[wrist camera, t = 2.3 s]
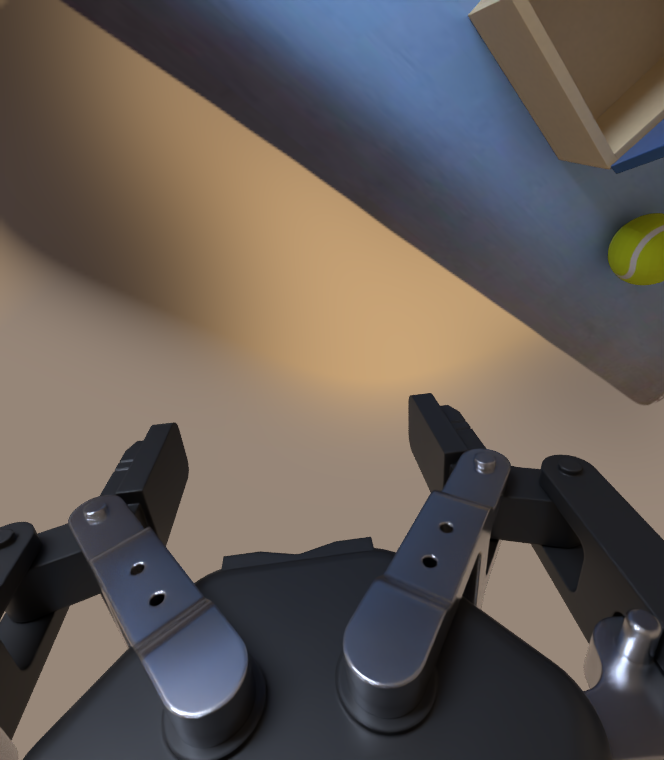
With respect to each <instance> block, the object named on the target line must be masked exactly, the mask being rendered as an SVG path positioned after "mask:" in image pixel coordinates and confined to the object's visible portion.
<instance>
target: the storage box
mask: <svg viewBox="0 0 664 760" xmlns="http://www.w3.org/2000/svg"><path fill="white" fill-rule="evenodd" d="M468 17H469V18H470V20H471V21H472V23H473V24H474V26H475V28H476V29H477V31H478V32H479V34H480V36H481V37H482V39H483V40H484V42H485V43H486V45H487V47H488V48H489V50H490V51H491V53H492V55H493V56H494V58H495V59H496V61H497V62H498V64H499V66H500V67H501V69H502V70H503V72H504V73H505V75H506V77H507V78H508V80H509V81H510V83H511V85H512V86H513V88H514V89H515V91H516V92H517V94H518V96H519V97H520V99H521V100H522V102H523V103H524V105H525V107H526V108H527V110H528V111H529V113H530V115H531V116H532V118H533V119H534V121H535V122H536V124H537V126H538V127H539V129H540V130H541V132H542V134H543V135H544V137H545V138H546V140H547V141H548V143H549V145H550V146H551V148H552V149H553V151H554V152H555V154H556V156H557V157H558V159H559V160H564V161H568V162H573V163H578V164H583V165H588V166H594V167H599V168H604V169H611V165H613V164H614V163H615V162H616V161H617V160H618V159H619V158H620V157H621V156H623V155H624V154H625V153H626V152H627V151H628V150H629V149H630V148H632V147H633V146H634V145H635V144H636V143H637V142H638V141H639V140H641V139H642V138H643V137H644V136H645V135H646V134H647V133H648V132H650V131H651V130H652V129H653V128H654V127H655V126H656V125H657V124H658V123H660V122H661V121H662V120H663V119H664V0H481V1H480V2H479V3H478V4H477V6H476V7H475V8H474V9H473V10H472V11H471V12H470V14H469V15H468Z"/></svg>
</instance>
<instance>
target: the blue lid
mask: <svg viewBox="0 0 664 760" xmlns="http://www.w3.org/2000/svg"><path fill="white" fill-rule="evenodd" d="M663 157H664V119H663V120H662V121H661V122H660V123H658V124H657V125H656V126H655V127H654V128H653V129H652V130H651V131H650V132H648V133H647V134H646V135H645V136H644V137H643V138H642V139H641V140H639V141H638V142H637V143H636V144H635V145H634V146H633V147H632V148H630V149H629V150H628V151H627V152H626V153H625V154H624V155H623V156H621V157H620V158H619V159H618V160H617V161H616V162H615V163H614V164H613V165H611V168H612V169H613V170H614V172H615V173H616V174H618V173H621V172H623V171H626V170H629V169H632V168H635V167H637V166H640V165H643V164H646V163H649V162H651V161H654V160H657V159H660V158H663Z"/></svg>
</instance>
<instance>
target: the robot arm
mask: <svg viewBox="0 0 664 760" xmlns="http://www.w3.org/2000/svg"><path fill="white" fill-rule="evenodd" d="M409 441H410V447H411V450H412V453H413V455H414V457H415V459H416V461H417V463H418V465H419V468H420V470H421V472H422V474H423V477H424V479H425V481H426V483H427V485H428V487H429V490H430V492H431V494H430V495H429V497H428V499H427V501H426V502H425V504H424V506H423V507H422V509H421V511H420V513H419V514H418V516H417V518H416V519H415V521H414V523H413V525H412V527H411V528H410V530H409V532H408V533H407V535H406V537H405V539H404V540H403V542H402V544H401V545H400V547H399V549H398V550H397V552H396V553H395V552H392V551H388V550H384V549H378V548H374V547H373V543H372V539H371V537H366V538H359V539H351V540H343V541H336V542H333V543H330V544H327V545H324V546H321V547H318V548H316V549H313V550H310V551H307V552H304V553H301V554H285V553H271V552H254V553H246V554H239V555H231V556H224V558H223V564H222V569H220V570H217V571H215V572H213V573H211V574H208V575H207V576H205V577H203V578H201V579H200V580H198V581H197V582H195V583H193V582H192V580H191V579H190V578H189V576H188V575H187V574H186V573H185V571H184V570H183V569H182V567H181V566H180V565H179V563H178V562H177V561H176V560H175V558H174V557H173V556H172V555H171V553H170V552H169V551H168V550H167V548H166V544H167V541H168V538H169V535H170V532H171V529H172V526H173V523H174V520H175V517H176V513H177V510H178V507H179V504H180V501H181V498H182V495H183V492H184V489H185V485H186V482H187V479H188V473H189V467H188V460H187V456H186V453H185V449H184V446H183V442H182V438H181V435H180V431H179V428H178V425H177V424H176V423H166V424H157V425H152V426H151V427H150V429H149V431H148V433H147V435H146V437H145V439H144V441H137V442H136V443H135V444H133V445H132V446H131V447H130V448H129V449H127V450H126V451H125V453H124V455H123V457H122V458H121V460H120V463H119V464H118V465H117V467H116V469H115V472H114V473H113V474H112V476H111V477H110V479H109V481H108V482H107V484H106V486H105V488H104V489H103V491H102V493H101V495H100V496H98V497H96V498H93V499H90V500H88V501H86V502H85V503H83V504H81V505H80V506H79V507H77V509H75V510H74V511H73V512H72V514H71V515H70V517H69V520H68V524H65V525H62V526H59V527H56V528H53V529H50V530H47V531H44V532H41V533H38V534H37V533H36V530H35V529H34V527H33V525H32V524H30V523H28V522H17V523H12V524H9V525H5V526H3V527H0V619H1V617H2V615H3V613H4V611H5V612H6V613H5V615H4V617H3V619H2V620H1V622H0V760H18V751H17V748H16V747H15V745H14V744H13V743H12V741H11V740H12V738H13V735H14V733H15V731H16V728H17V726H18V724H19V722H20V719H21V717H22V714H23V712H24V710H25V708H26V706H27V703H28V701H29V699H30V696H31V694H32V692H33V689H34V687H35V685H36V683H37V680H38V678H39V675H40V673H41V671H42V669H43V666H44V664H45V662H46V659H47V657H48V655H49V653H50V650H51V648H52V646H53V643H54V640H55V639H56V637H57V634H58V632H59V630H60V627H61V625H62V623H63V620H64V618H65V616H66V613H67V611H68V609H69V606H70V605H73V604H75V603H78V602H80V601H83V600H85V599H88V598H90V597H93V596H95V595H98V594H101V597H102V599H103V600H104V603H105V604H106V606H107V608H108V610H109V612H110V614H111V616H112V618H113V620H114V622H115V624H116V626H117V628H118V630H119V632H120V634H121V636H122V638H123V640H124V642H125V644H126V646H127V648H128V650H127V651H126V652H125V653H124V654H123V655H122V656H121V657H120V658H119V659H118V660H117V661H116V662H115V663H114V664H113V665H112V666H111V667H110V668H109V669H108V670H107V671H106V672H105V673H104V674H103V675H102V676H101V677H100V679H98V680H97V681H96V683H94V684H93V686H91V687H90V689H89V690H88V691H87V692H86V693H85V694H84V695H83V696H82V697H81V698H80V699H79V700H78V701H77V702H76V703H75V704H74V705H73V706H72V707H71V708H70V709H69V710H68V711H67V712H66V713H65V714H64V715H63V716H62V717H61V718H60V719H59V720H58V721H57V722H56V723H55V724H54V725H53V726H52V728H51V729H50V730H49V731H48V732H47V733H46V734H45V735H44V736H43V737H42V738H41V739H40V740H39V741H38V742H37V743H36V744H35V745H34V747H33V748H32V749H31V750H30V751H29V752H28V753H27V755H26V756H25V757H24V759H23V760H664V540H663V539H662V538H661V537H660V536H659V535H658V534H657V533H656V532H655V531H654V530H653V528H652V527H651V526H650V525H649V524H648V523H647V522H646V521H645V520H644V519H643V518H642V517H641V516H640V515H639V514H638V513H637V512H636V511H635V510H634V508H633V507H632V506H631V505H630V504H629V503H628V502H627V501H626V500H625V499H624V498H623V497H622V496H621V495H620V494H619V493H618V492H617V491H616V490H615V488H614V487H613V486H612V485H611V484H610V483H609V482H608V481H607V480H606V479H605V478H604V477H603V476H602V475H601V474H600V473H599V472H598V471H597V469H596V468H594V466H592V465H591V464H590V463H588V462H586V461H585V460H582V459H580V458H577V457H574V456H569V455H553V456H549V457H547V458H545V459H544V460H543V462H542V466H541V469H531V468H521V467H514V466H511V465H510V462H509V460H508V459H507V458H506V457H505V456H504V455H502V454H500V453H498V452H496V451H493V450H489V449H486V447H485V446H484V445H483V443H482V442H481V441H480V439H479V438H478V437H477V435H476V434H475V432H474V431H473V430H472V429H470V426H469V424H468V423H467V422H466V421H465V419H464V418H463V416H462V415H461V414H460V412H459V411H457V410H456V409H454V408H452V407H450V406H449V405H444V406H440V405H439V404H438V402H437V401H436V399H435V398H434V396H433V395H432V394H431V393H427V394H418V395H411V396H410V397H409ZM501 540H506V541H515V542H522V543H530V544H531V545H532V547H533V548H534V550H535V552H536V554H537V555H538V557H539V559H540V560H541V562H542V564H543V566H544V567H545V569H546V571H547V572H548V574H549V576H550V578H551V579H552V581H553V583H554V585H555V586H556V588H557V590H558V591H559V593H560V595H561V597H562V598H563V600H564V602H565V603H566V605H567V607H568V609H569V610H570V612H571V613H572V615H573V617H574V619H575V621H576V622H577V624H578V626H579V627H580V629H581V631H582V633H583V634H584V636H585V638H586V639H587V641H588V643H589V647H588V651H587V654H586V658H585V661H584V674H585V677H586V680H587V683H588V685H589V688H590V689H589V690H587V691H582V690H581V688H580V687H579V686H578V685H577V683H576V682H575V681H574V680H573V679H572V678H571V677H570V676H569V675H568V674H567V673H566V672H565V671H564V670H563V669H561V668H560V667H559V666H558V665H556V664H555V663H553V662H552V661H551V660H550V659H548V658H547V657H545V656H544V655H543V654H541V653H540V652H539V651H537V650H536V649H534V648H533V647H532V646H530V645H529V644H527V643H526V642H525V641H523V640H522V639H521V638H519V637H518V636H516V635H515V634H514V633H512V632H511V631H509V630H508V629H507V628H505V627H504V626H503V625H501V624H500V623H498V622H497V621H496V620H494V619H493V618H492V617H490V616H489V615H487V614H486V613H485V612H483V611H482V610H481V607H482V603H483V598H484V593H485V589H486V586H487V583H488V579H489V577H490V574H491V571H492V568H493V565H494V562H495V559H496V556H497V553H498V550H499V547H500V544H501Z"/></svg>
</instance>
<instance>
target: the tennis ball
mask: <svg viewBox="0 0 664 760" xmlns="http://www.w3.org/2000/svg"><path fill="white" fill-rule="evenodd" d="M608 262H609V265H610V267H611V269H612V271H613V272H614V273H615V275H616V276H618V277H619V278H620V279H621V280H623V281H625V282H628V283H630V284H635V285H651V284H656V283H660V282H662V281H664V214H662V213H653V214H647V215H643V216H640V217H638V218H635V219H633V220H632V221H630V222H628V223H627V224H625V225H624V226H623V227H622V228H620V229H619V231H618V232H617V233H616V234H615V235H614V237H613V239H612V241H611V243H610V245H609V249H608Z"/></svg>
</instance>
